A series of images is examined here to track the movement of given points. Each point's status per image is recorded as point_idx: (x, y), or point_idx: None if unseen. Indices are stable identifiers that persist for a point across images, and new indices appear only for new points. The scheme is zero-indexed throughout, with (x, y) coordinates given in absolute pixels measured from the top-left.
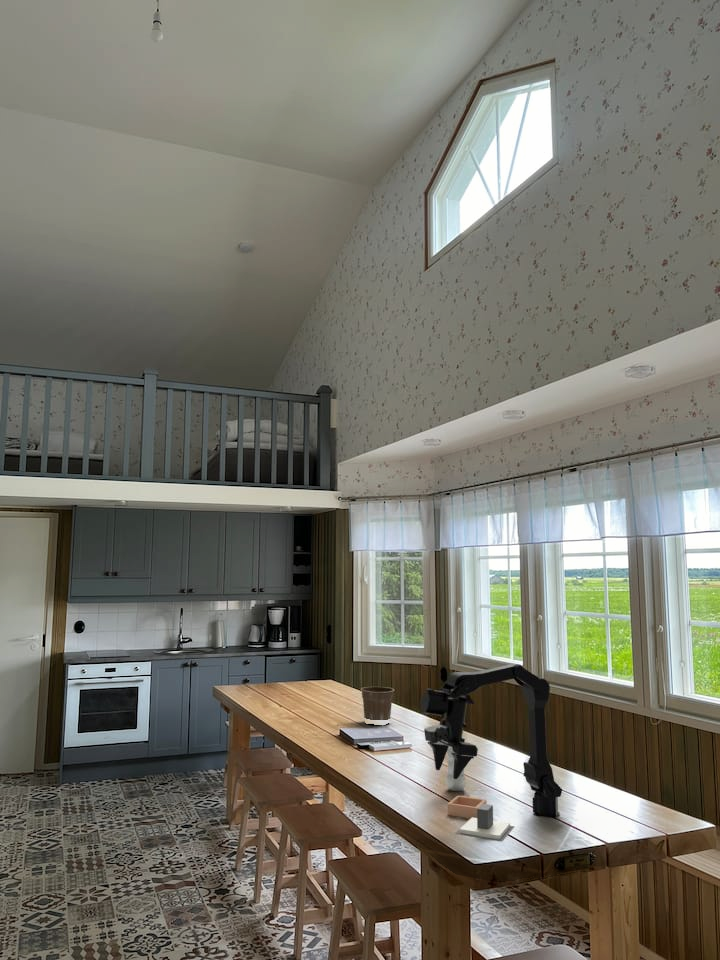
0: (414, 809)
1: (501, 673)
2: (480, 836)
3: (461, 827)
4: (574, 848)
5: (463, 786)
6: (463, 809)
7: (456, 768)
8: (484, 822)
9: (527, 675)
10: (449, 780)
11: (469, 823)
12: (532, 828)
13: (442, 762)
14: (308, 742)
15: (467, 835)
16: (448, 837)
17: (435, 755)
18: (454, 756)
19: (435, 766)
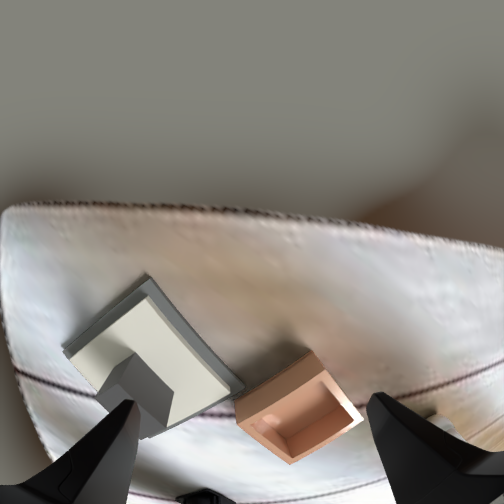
0: (407, 291)
1: None
2: (102, 329)
3: (156, 312)
4: (37, 427)
5: None
6: (275, 395)
7: (74, 448)
8: (114, 371)
9: None
10: (440, 425)
11: (181, 356)
12: (142, 456)
13: (380, 455)
14: None
15: (120, 302)
16: (148, 249)
17: (437, 448)
18: (6, 501)
19: (394, 400)
